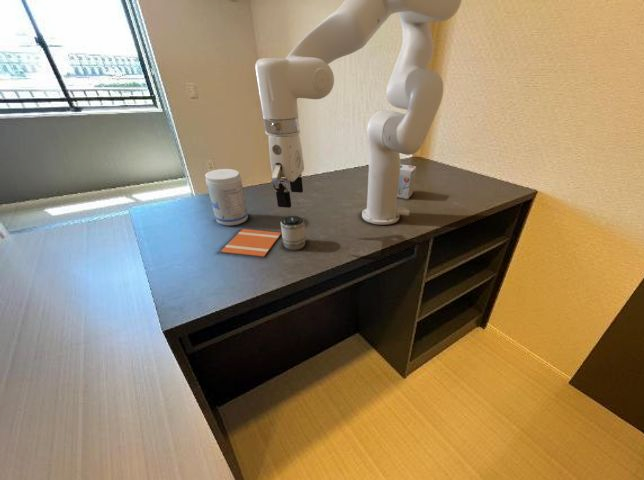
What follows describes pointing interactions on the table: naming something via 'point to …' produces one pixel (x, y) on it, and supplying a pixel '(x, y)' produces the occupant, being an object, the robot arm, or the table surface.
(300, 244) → the camera lens
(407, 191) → the light bulb box
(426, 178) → the table surface
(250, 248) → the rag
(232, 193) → the supplement tub
